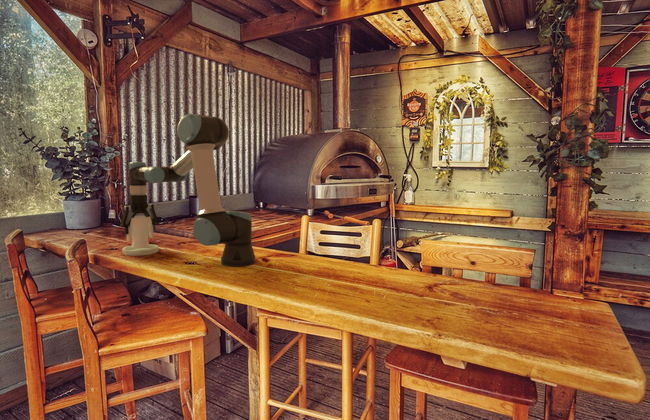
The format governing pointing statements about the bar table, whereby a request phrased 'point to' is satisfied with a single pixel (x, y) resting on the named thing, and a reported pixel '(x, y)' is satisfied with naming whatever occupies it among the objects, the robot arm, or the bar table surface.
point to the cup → (140, 231)
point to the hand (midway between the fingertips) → (140, 239)
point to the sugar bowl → (132, 239)
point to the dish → (140, 250)
